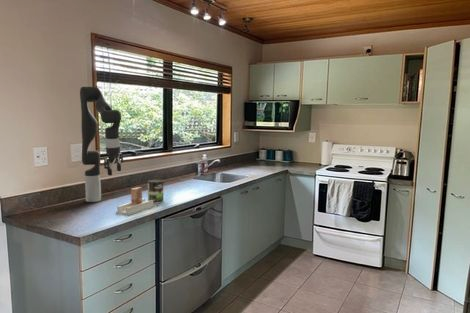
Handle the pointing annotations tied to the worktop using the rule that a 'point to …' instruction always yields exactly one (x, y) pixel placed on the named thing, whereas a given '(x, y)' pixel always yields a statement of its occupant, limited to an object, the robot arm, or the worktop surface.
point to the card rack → (134, 207)
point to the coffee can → (155, 190)
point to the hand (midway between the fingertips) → (114, 173)
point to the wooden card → (136, 196)
